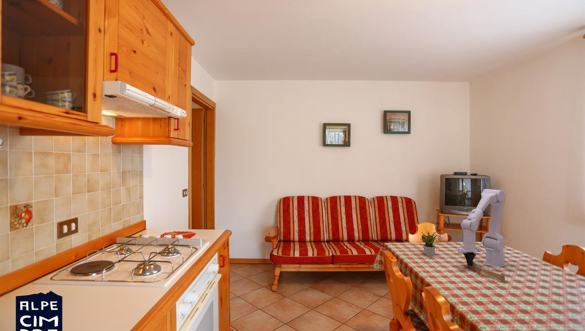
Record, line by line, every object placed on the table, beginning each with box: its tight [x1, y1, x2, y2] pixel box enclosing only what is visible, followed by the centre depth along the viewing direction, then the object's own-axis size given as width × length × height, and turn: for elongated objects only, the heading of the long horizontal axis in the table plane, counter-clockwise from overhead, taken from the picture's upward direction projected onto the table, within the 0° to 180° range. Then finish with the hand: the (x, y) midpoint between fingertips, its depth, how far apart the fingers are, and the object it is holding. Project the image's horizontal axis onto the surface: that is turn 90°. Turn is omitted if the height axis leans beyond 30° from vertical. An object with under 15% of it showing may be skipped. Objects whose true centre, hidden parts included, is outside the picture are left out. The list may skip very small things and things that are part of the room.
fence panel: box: [467, 261, 479, 274], centre depth 152 cm, size 11×2×4 cm, turn 170°
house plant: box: [420, 230, 443, 258], centre depth 177 cm, size 14×14×16 cm
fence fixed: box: [477, 265, 506, 284], centre depth 140 cm, size 2×13×4 cm, turn 23°
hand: (469, 265), depth 153 cm, fingers closed, pressing on fence panel
